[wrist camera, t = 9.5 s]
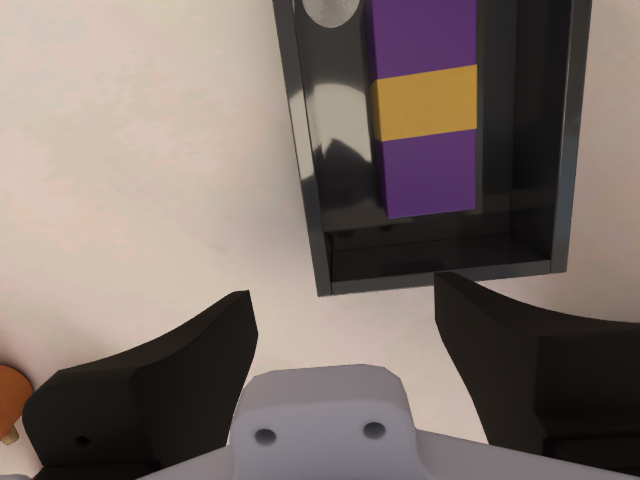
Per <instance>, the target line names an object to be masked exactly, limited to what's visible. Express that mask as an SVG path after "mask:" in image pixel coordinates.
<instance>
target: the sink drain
mask: <svg viewBox="0 0 640 480" xmlns="http://www.w3.org/2000/svg"><path fill="white" fill-rule="evenodd" d="M302 1H303V5H304V8H305V10H306V12H307V14H308V16H309V17H310V18H311V19H312V20H313V21H314V22H315V23H317V24H319V25H321V26H323V27H330V28H332V27H338V26H340V25H343V24H344V23H346V22H347V21H348V20H349V19H350V18H351V17H352V16H353V15H354V13H355V12H356V10H357V8H358V5H359V1H360V0H302Z"/></svg>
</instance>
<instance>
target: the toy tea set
mask: <svg viewBox="0 0 640 480" xmlns="http://www.w3.org/2000/svg"><path fill="white" fill-rule="evenodd" d="M32 394H33V391H32V387H31V385H30V383H29V381H28V380H27V379H26V378H25V377H24V376H23V375H22V374H21V373H20V372H18V371H17V370H15V369H12V368H10V367H7V366H4V365H0V441H2V442H3V443H4V444H5V445H10V444H12V443H13V442H15V441H17V440H18V439H19V434H18V432H17V430H16V429H15V427H14V423H15V422H16V421H17V420H18V418H19V417H20V416H21V415H22V410H23V407H24V404H25V402H26V400H27V399H28V398H29V397H30V396H31V395H32ZM35 476H36V475H35ZM35 476H34V477H33V478H32V479H34V478H35Z"/></svg>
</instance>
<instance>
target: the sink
mask: <svg viewBox="0 0 640 480" xmlns="http://www.w3.org/2000/svg"><path fill="white" fill-rule="evenodd" d="M272 2H273V9H274V15H275V22H276V28H277V35H278V41H279V48H280V54H281V61H282V67H283V74H284V80H285V87H286V93H287V100H288V106H289V113H290V119H291V126H292V132H293V139H294V145H295V152H296V158H297V165H298V171H299V178H300V184H301V191H302V197H303V204H304V210H305V217H306V223H307V230H308V236H309V243H310V249H311V256H312V262H313V269H314V275H315V282H316V288H317V295H318V297H325V296H332V295H334V296H335V295H345V294H355V293H365V292H375V291H385V290H395V289H405V288H415V287H425V286H434V273H437V272H448V271H451V272H454V273H456V274H459V275H461V276H463V277H465V278H467V279H469V280H471V281H473V282H475V281H485V280H495V279H505V278H515V277H525V276H535V275H545V274H550V273H551V274H554V273H564V272H566V271H567V261H568V250H569V240H570V229H571V219H572V208H573V198H574V187H575V177H576V166H577V155H578V145H579V134H580V124H581V113H582V103H583V92H584V82H585V71H586V61H587V50H588V40H589V29H590V19H591V8H592V0H477V22H476V64H477V128H476V207H475V208H474V209H468V210H459V211H451V212H442V213H434V214H425V215H417V216H408V217H400V218H391V219H389V218H388V217H387V215H386V213H385V211H384V209H383V207H382V205H381V203H380V198H379V186H378V174H377V162H376V150H375V138H374V133H373V121H372V109H371V97H370V78H369V66H368V54H367V42H366V30H365V18H364V2H365V0H360V1H359V5H358V8H357V10H356V12H355V13H354V15H353V16H352V17H351V18H350V19H349V20H348V21H347V22H346V23H344V24H343V25H340V26H338V27H332V28H330V27H323V26H321V25H319V24H317V23H315V22H314V21H313V20H312V19H311V18H310V17H309V16H308V14H307V12H306V10H305V8H304V5H303V1H302V0H272Z"/></svg>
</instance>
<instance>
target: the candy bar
mask: <svg viewBox="0 0 640 480" xmlns="http://www.w3.org/2000/svg"><path fill="white" fill-rule="evenodd" d="M364 18H365V30H366V42H367V54H368V66H369V78H370V97H371V109H372V121H373V133H374V138H375V150H376V162H377V174H378V186H379V198H380V203H381V205H382V207H383V209H384V211H385V213H386V215H387V217H388V218H389V219H391V218H400V217H408V216H417V215H425V214H434V213H442V212H451V211H459V210H468V209H474V208H475V207H476V128H477V64H476V22H477V0H365V2H364Z"/></svg>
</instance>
